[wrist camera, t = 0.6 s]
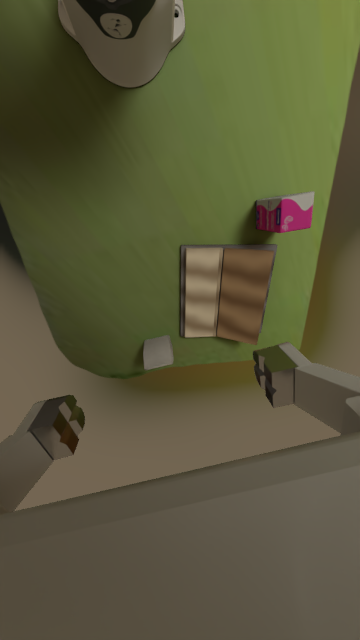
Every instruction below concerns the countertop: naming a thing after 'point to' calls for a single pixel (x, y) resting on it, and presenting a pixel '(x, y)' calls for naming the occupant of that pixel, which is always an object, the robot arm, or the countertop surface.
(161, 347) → the white food carton
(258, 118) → the countertop surface
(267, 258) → the walnut plank
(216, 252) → the floor board
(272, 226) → the supplement box
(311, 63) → the countertop surface
